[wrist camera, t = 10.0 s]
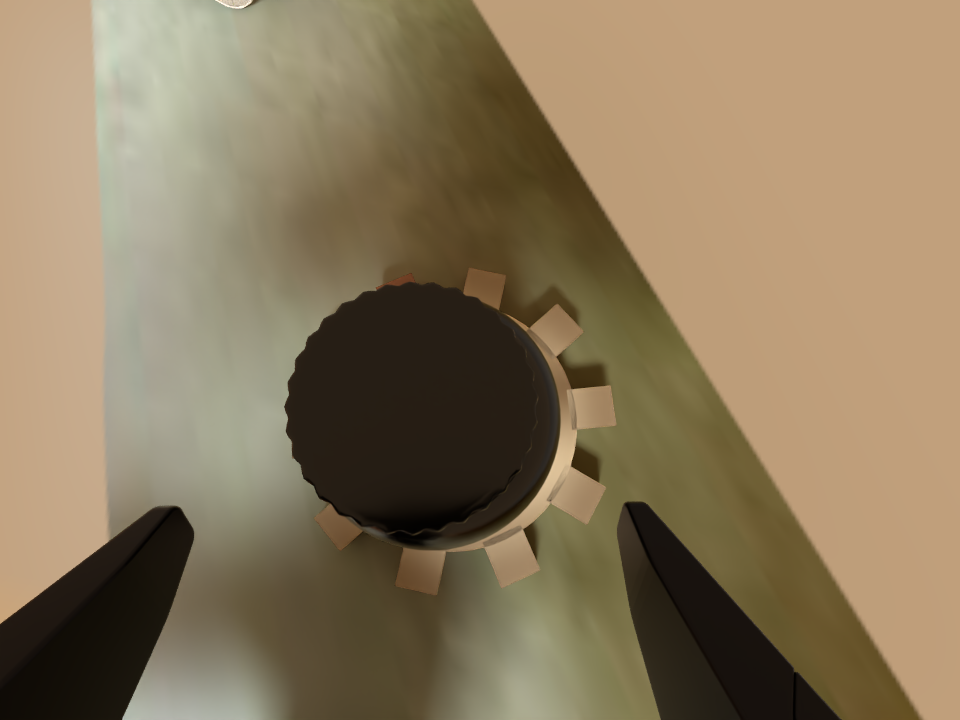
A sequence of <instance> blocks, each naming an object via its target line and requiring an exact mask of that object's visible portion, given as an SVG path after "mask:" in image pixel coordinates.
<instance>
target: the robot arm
mask: <svg viewBox="0 0 960 720" xmlns="http://www.w3.org/2000/svg"><path fill="white" fill-rule="evenodd" d="M617 537H618V543H619V549H620V555H621V561H622V566H623V572H624V578H625V584H626V590H627V595H628V601H629V606H630V611H631V616H632V620H633V624H634V627H635V631H636V634H637V638H638V641H639V645H640V648H641V652H642V655H643V659H644V662H645V666H646V669H647V673H648V676H649V680H650V683H651V687H652V690H653V694H654V697H655V701H656V704H657V708H658V711H659V715H660V718H661V720H841V719H840V718H839V716H838V715H837V714H836V713H835V712H834V711H833V710H832V709H831V708H830V707H829V706H828V705H827V704H826V702H825V701H824V700H823V699H822V698H821V697H820V696H819V695H818V694H817V693H816V692H815V690H814V689H813V688H812V687H811V686H810V685H809V684H808V683H807V682H806V680H805V679H804V678H803V677H802V676H801V675H800V674H799V673H798V672H794V667H793V666H792V665H791V664H790V663H789V662H788V661H787V659H786V658H785V657H784V656H783V655H782V654H781V653H780V652H779V651H778V649H777V648H776V647H775V646H774V645H773V644H772V643H771V642H770V640H769V639H768V638H767V637H766V636H765V635H764V634H763V633H762V632H761V630H760V629H759V628H758V627H757V626H756V625H755V624H754V623H753V621H752V620H751V619H750V618H749V617H748V616H747V615H746V614H745V613H744V611H743V610H742V609H741V608H740V607H739V606H738V605H737V604H736V603H735V601H734V600H733V599H732V598H731V597H730V596H729V595H728V594H727V592H726V591H725V590H724V589H723V588H722V587H721V586H720V585H719V584H718V582H717V581H716V580H715V579H714V578H713V577H712V576H711V575H710V573H709V572H708V571H707V570H706V569H705V568H704V567H703V566H702V565H701V563H700V562H699V561H698V560H697V559H696V558H695V557H694V556H693V555H692V553H691V552H690V551H689V550H688V549H687V548H686V547H685V546H684V544H683V543H682V542H681V541H680V540H679V539H678V538H677V537H676V536H675V534H674V533H673V532H672V531H671V530H670V529H669V528H668V527H667V525H666V524H665V523H664V522H663V521H662V520H661V519H660V518H659V517H658V515H657V514H656V513H655V512H654V511H653V510H652V509H651V508H650V507H649V505H648V504H646V503H644V502H625V503H624V504H623V507H622V510H621V514H620V518H619V522H618V526H617ZM193 541H194V530H193V528H192V526H191V524H190V523H189V521H188V519H187V518H186V516H185V514H184V513H183V511H182V509H181V508H180V507H178V506H157V507H155V508H153V509H151V510H150V511H148V512H147V513H146V514H144V515H143V516H142V517H141V518H139V519H138V520H137V521H135V522H134V523H133V524H131V525H130V526H129V527H127V528H126V529H125V530H123V531H122V532H121V533H119V534H118V535H117V536H115V537H114V538H113V539H112V540H110V541H109V542H108V543H106V544H105V545H104V546H102V547H101V548H100V549H98V550H97V551H96V552H94V553H93V554H92V555H91V556H89V557H88V558H86V559H85V560H84V561H83V562H81V563H80V564H79V565H77V566H76V567H75V568H73V569H72V570H71V571H69V572H68V573H67V574H65V575H64V576H63V577H61V578H60V579H59V580H57V581H56V582H55V583H54V584H52V585H51V586H50V587H48V588H47V589H46V590H44V591H43V592H42V593H40V594H39V595H38V596H37V597H35V598H34V599H33V600H31V601H30V602H29V603H27V604H26V605H25V606H23V607H22V608H21V609H19V610H18V611H17V612H16V613H14V614H13V615H11V616H10V617H9V618H7V619H6V620H5V621H3V622H2V623H1V624H0V720H122V718H123V716H124V714H125V712H126V709H127V707H128V705H129V703H130V700H131V698H132V696H133V694H134V692H135V689H136V687H137V685H138V683H139V680H140V678H141V676H142V674H143V671H144V669H145V667H146V665H147V663H148V660H149V658H150V656H151V654H152V651H153V649H154V647H155V645H156V642H157V640H158V638H159V636H160V634H161V631H162V629H163V627H164V624H165V622H166V620H167V617H168V614H169V612H170V609H171V606H172V604H173V601H174V598H175V595H176V592H177V589H178V586H179V583H180V580H181V577H182V574H183V571H184V568H185V565H186V562H187V559H188V556H189V553H190V550H191V547H192V544H193Z"/></svg>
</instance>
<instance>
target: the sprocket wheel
mask: <svg viewBox="0 0 960 720" xmlns="http://www.w3.org/2000/svg"><path fill="white" fill-rule="evenodd" d="M505 280H506V275H502V274H497V273H493V272H488V271H483V270H478V269H473V268H469V270H468V274H467V278H466V283H465V287H464V291H463V294H464V295H466V296H473V297H477V298H479V300H480V301H481V302H484V303H486V304H488V305H490V306H492V307H494V308H496V309H498V310H499V308H500V304H501V299H502V294H503V290H504V285H505ZM409 281H410V282H414V283H415V280H414V278H413V276H412V274H411V273H410V274H408V275H405V276H403V277H400V278H398V279H396V280H393V281H391V282H388V283H386V284H387V285H396V286H399V285H402V284H404V283H406V282H409ZM386 284H383V285H381V286H379V287H376V289H377V290H378V289H379V288H381V287H383V286H384V285H386ZM506 315H507V314H506ZM507 316H509V315H507ZM509 317H510V318H511V319H513V320H514V321H515V322H516V323H518V324H519V325H520V326H521V327H522V328H523V329H524V330H525V331H526V332H527V333H528V334H529V336H530V337H531V338H532V339H533V340H534V341H535V343H536V344H537V346H538V347H539V349H540V350H541V352H542V353H543V355H544V357H545V359H546V360H547V362H548V364H549V367H550V369H551V371H552V374H553V377H554V380H555V383H556V386H557V390H558V395H559V401H560V409H561V428H560V438H559V444H558V449H557V452H556V456H555V460H554V462H553V465H552V468H551V470H550V473H549V475H548V477H547V479H546V481H545V483H544V485H543V486H542V488H541V489H540V491H539V492H538V494H537V496H536V497H535V498H534V499H533V501H532V502H531V503H530V504H529V506H528V507H527V508H526V509H525V510H524V511H523V512H522V513H521V514H520V515H519V516H518V517H517V518H515V519H514V520H513V521H512V522H511V523H510V524H508V525H507V526H505V527H504V528H502V529H501V530H500V531H498V532H496V533H494V534H493V535H491V536H489V537H487V538H485V539H483V540H480V541H478V542H475V543H473V544H469V545H466V546H463V547H458V548H453V549H448V550H437V551H426V550H414V549H407V548H403V553H402V557H401V561H400V565H399V570H398V574H397V578H396V583H395V586H397V587H402V588H406V589H410V590H415V591H419V592H423V593H428V594H432V595H436V596H437V592H438V588H439V584H440V579H441V575H442V570H443V566H444V561H445V556H446V552H459V551H470V550H476V549H480V548H485V550H486V552H487V555H488V557H489V560H490V562H491V564H492V567H493V569H494V572H495V574H496V576H497V579H498V581H499V584H500V586H501V588H504V587H506V586H508V585H510V584H512V583H514V582H516V581H518V580H521V579H523V578H525V577H527V576H529V575H531V574H533V573H535V572H537V571H540V568H539V566H538V563H537V561H536V559H535V556H534V554H533V552H532V550H531V547H530V545H529V543H528V540H527V538H526V536H525V533H524V531H523V529H524V528H526V527H527V526H528V525H530V524H531V523H532V522H533V521H534V520H535V519H536V518H538V517H539V516H540V515H541V514H542V513H543V512H544V511H545V510H546V508H547V507H548V506H549V504H550V503H551V504H553V505H555V506H556V507H558V508H560V509H561V510H563V511H565V512H566V513H568V514H570V515H571V516H573V517H575V518H576V519H578V520H580V521H581V522H583V523H585V524H586V525H587V524H588V522H589V520H590V518H591V516H592V514H593V512H594V510H595V508H596V506H597V504H598V503H599V501H600V499H601V497H602V495H603V493H604V491H605V489H606V487H605V486H603V485H601V484H600V483H598V482H596V481H595V480H593V479H591V478H589V477H588V476H586V475H584V474H583V473H581V472H579V471H577V470H576V469H574V468H572V467H571V462H572V459H573V455H574V451H575V444H576V437H577V429H587V428H597V427H607V426H616V419H615V412H614V406H613V399H612V393H611V386H600V387H590V388H580V389H571V386H570V384H569V381H568V379H567V376H566V374H565V372H564V370H563V368H562V366H561V364H560V363H559V361H558V359H557V358H556V357H557V356H558V355H559V354H560V353H561V352H563V351H564V350H565V349H566V348H567V347H568V346H569V345H570V344H571V343H573V342H574V341H575V340H576V339H577V338H578V337H579V336H580V335H581V334H582V333H583V332H584V331H583V330H582V329H581V328H580V327H579V326H578V325H577V324H576V323H575V322H574V321H573V320H572V319H571V318H570V316H569V315H568V314H567V313H566V312H565V311H564V310H563V309H562V308H561V307H560V306H559V305H558V304H556V305H555V306H554V307H553V308H551V309H550V310H549V311H548V312H547V313H546V314H545V315H544V316H542V317H541V318H540V319H539V320H538V321H537V322H536V323H534V324H533V325H532V326H531V327H530V328H528V327H527V326H526V325H524V324H523V323H521V322H519V321H518V320H516V319H515V318H513V317H511V316H509ZM292 458H294V457H293V456H292ZM314 519H315V520H316V522H317V523H318V524H319V525H320V527H321V528H322V529H323V530H324V532H325V533H326V534H327V535H328V537H329V538H330V539H331V540H332V542H333V543H334V544H335V545H336V547H337V548H338V549H339V550H340V551H341V550H342V549H343V548H345V547H346V546H347V545H348V544H349V543H351V542H352V541H353V540H354V539H355V538H356V537H357V536H358V535H359V534H361V533H362V532H363V531H362V530H360V529H359V528H358V527H356V526H355V525H354V524H352V523H351V522H350V521H349V520H347V519H346V518H345V517H343V516H340V515H338V514H337V512H336V511H335V510H334V508H333V506H332V505H331V503H330V504H329V505H328V506H327V507H326V508H325V509H324V510H322V511H321V512H320V513H319V514H318V515H317V516H316V517H314Z"/></svg>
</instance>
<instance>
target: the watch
mask: <svg viewBox="0 0 960 720" xmlns="http://www.w3.org/2000/svg"><path fill="white" fill-rule="evenodd" d="M216 1H218V2H219V3H221V4H223V5H225V6H227V7H231V8H237V9H239V8H244V7H246V6H247V5H249V4H251V2H252V1H253V0H216Z"/></svg>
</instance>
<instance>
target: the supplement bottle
mask: <svg viewBox="0 0 960 720" xmlns="http://www.w3.org/2000/svg"><path fill="white" fill-rule="evenodd" d="M288 391H289V396H288V398H287V401H286V403H285V406H284V408H285V411H286V414H287V416H288V422H287V427H286V433H287V435H288V437H289V438H290V439H291V441H292V456H293V457H294V459H295V460H296V461H297V462H299V464H300V465H301V470H302V474H303V478H304V479H305V480H306V481H307V482H308V483H310V484H312V485H313V486H314V488H315V490H316V493H317V495H318V497H319V499H321V500H323V501H325V502H329V503H331V505H332V506H333V508H334V510H335V511H336V512H337V514H338V515H340V516H343V517H345V518H346V519H347V520H349V521H350V522H351V523H352V524H354V525H355V526H356V527H358V528H359V529H360V530H362V531H364V532H365V533H367V534H369V535H370V536H372V537H374V538H377V539H379V540H381V541H383V542H386V543H389V544H392V545H395V546H399V547H403V548H407V549H414V550H426V551H437V550H448V549H453V548H458V547H463V546H466V545H469V544H473V543H475V542H478V541H480V540H483V539H485V538H487V537H489V536H491V535H493V534H494V533H496V532H498V531H500V530H501V529H502V528H504V527H505V526H507V525H508V524H510V523H511V522H512V521H513V520H514V519H515V518H517V517H518V516H519V515H520V514H521V513H522V512H523V511H524V510H525V509H526V508H527V507H528V506H529V504H530V503H531V502H532V501H533V499H534V498H535V497H536V496H537V494H538V492H539V491H540V489H541V488H542V486H543V485H544V483H545V481H546V479H547V477H548V475H549V473H550V470H551V468H552V465H553V462H554V460H555V456H556V452H557V449H558V444H559V438H560V428H561V409H560V401H559V395H558V390H557V386H556V383H555V380H554V377H553V374H552V371H551V369H550V367H549V364H548V362H547V360H546V359H545V357H544V355H543V353H542V352H541V350H540V349H539V347H538V346H537V344H536V343H535V341H534V340H533V339H532V338H531V337H530V336H529V334H528V333H527V332H526V331H525V330H524V329H523V328H522V327H521V326H520V325H519V324H518V323H516V322H515V321H514V320H513V319H511V318H510V317H509V316H507V315H506V314H504V313H503V312H501V311H500V310H498V309H496V308H494V307H492V306H490V305H488V304H486V303H484V302H481V301H480V300H479V298H477V297H473V296H466V295H464V294H463V293H462V292H461V291H460V290H459V289H457V288H443V287H441V286H440V285H438V284H436V283H427V284H424V285H420V284H417V283H414V282H410V281H409V282H406V283H404V284H402V285H399V286H396V285H387V284H386V285H384V286H383V287H381V288H379V289H378V290H376V291H367V292H363V293H362V294H360V295H359V296H358V298H356V299H355V300H353V301H348V302H345V303H342V304H341V306H340V307H339V308H338V310H337V311H336V312H335V313H334V314H332V315H330V316H328V317H326V318H324V319H323V321H322V323H321V325H320V327H319V329H318V330H317V331H316V332H314V333H313V334H311V335H310V336H309V337H308V338H307V342H306V346H305V349H304V350H303V351H302V352H301V353H300V354H299V356H298V357H297V358H296V360H295V371H294V373H293V374H292V376H291V377H290V379H289V381H288Z"/></svg>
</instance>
